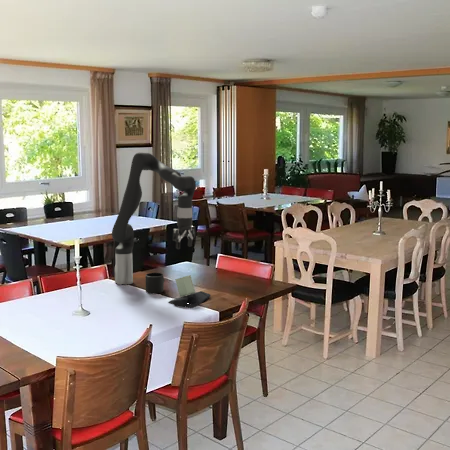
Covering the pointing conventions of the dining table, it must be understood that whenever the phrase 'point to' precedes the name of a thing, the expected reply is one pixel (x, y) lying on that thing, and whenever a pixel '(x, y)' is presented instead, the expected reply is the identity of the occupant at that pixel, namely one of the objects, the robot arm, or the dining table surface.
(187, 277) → the pale green block
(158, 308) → the dining table surface
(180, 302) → the dark slate chunk
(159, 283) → the mug
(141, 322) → the dining table surface
